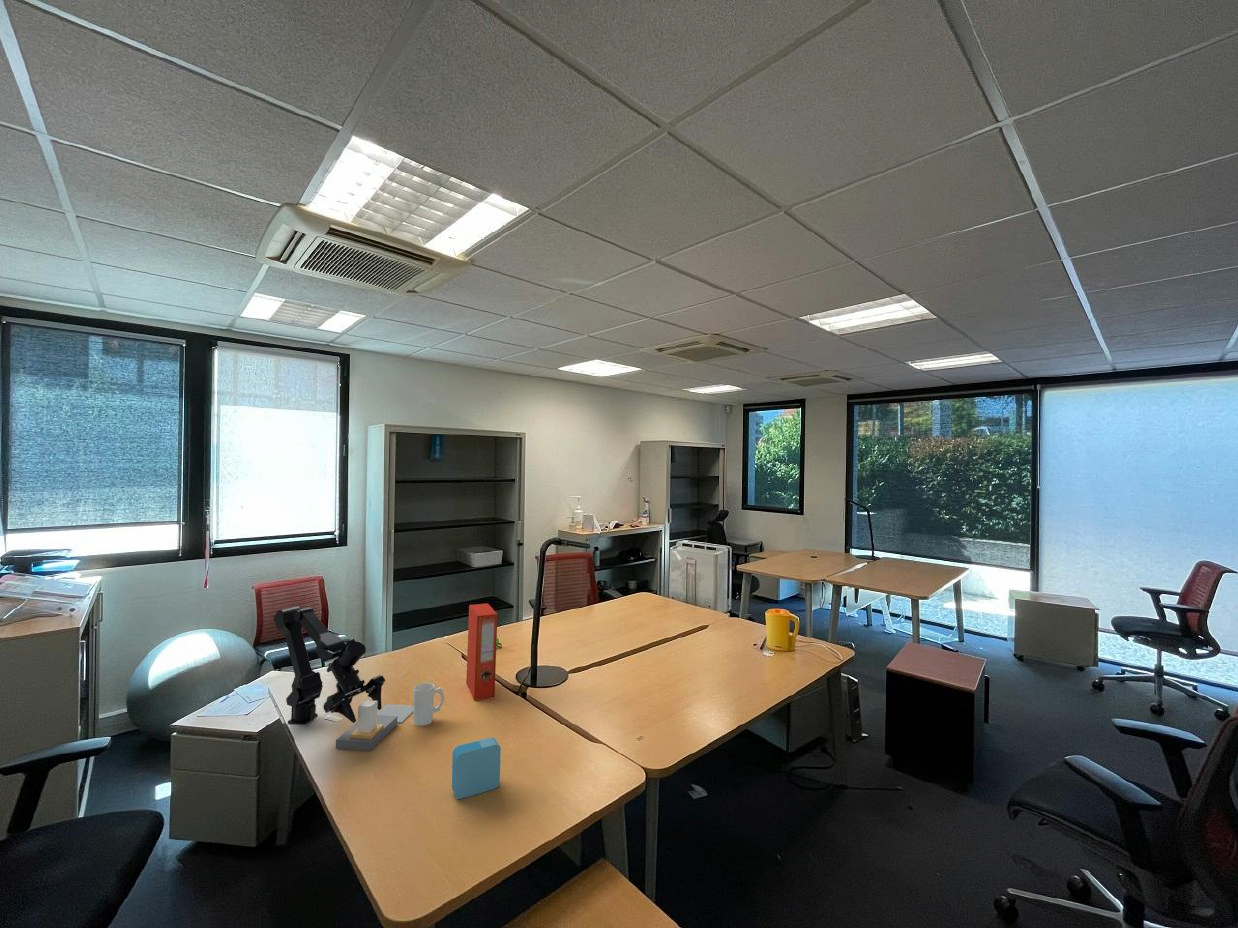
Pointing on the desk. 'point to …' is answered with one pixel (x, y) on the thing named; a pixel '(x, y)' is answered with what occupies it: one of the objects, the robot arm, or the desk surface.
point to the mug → (425, 703)
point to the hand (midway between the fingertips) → (367, 715)
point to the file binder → (481, 651)
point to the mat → (397, 711)
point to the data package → (476, 767)
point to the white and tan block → (367, 721)
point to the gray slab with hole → (366, 744)
